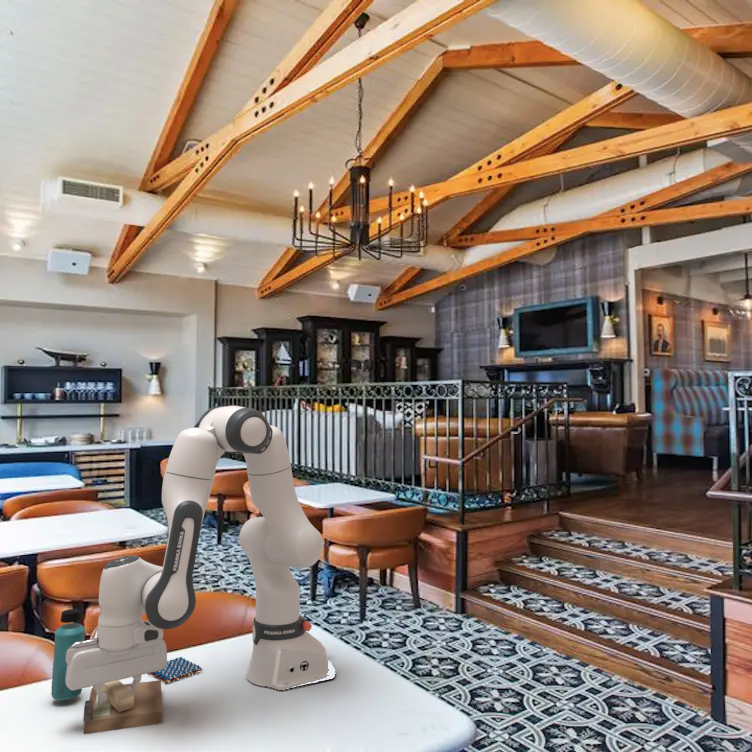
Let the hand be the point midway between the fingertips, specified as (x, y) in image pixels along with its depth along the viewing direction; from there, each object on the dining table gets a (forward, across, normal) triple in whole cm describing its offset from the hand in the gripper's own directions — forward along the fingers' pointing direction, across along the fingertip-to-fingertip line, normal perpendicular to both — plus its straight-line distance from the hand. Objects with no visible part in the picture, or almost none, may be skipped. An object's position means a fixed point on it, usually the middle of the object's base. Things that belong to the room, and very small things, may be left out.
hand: (116, 699), depth 132 cm
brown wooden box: (+4, +2, +2) cm, 5 cm away
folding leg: (+1, 0, +3) cm, 3 cm away
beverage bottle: (+4, -7, +14) cm, 17 cm away
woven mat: (+5, +18, +16) cm, 25 cm away
